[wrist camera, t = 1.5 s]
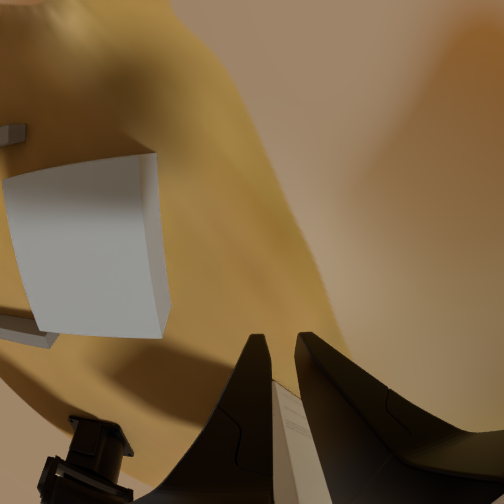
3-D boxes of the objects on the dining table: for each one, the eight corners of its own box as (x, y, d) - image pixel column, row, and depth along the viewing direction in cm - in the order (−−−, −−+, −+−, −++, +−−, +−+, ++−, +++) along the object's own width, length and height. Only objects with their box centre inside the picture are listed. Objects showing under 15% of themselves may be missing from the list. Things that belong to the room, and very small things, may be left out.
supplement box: (209, 414, 24) (210, 539, 12) (274, 377, 22) (304, 519, 11) (260, 442, 26) (274, 546, 14) (320, 411, 25) (355, 522, 13)
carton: (172, 303, 19) (162, 338, 16) (63, 301, 19) (39, 330, 15) (157, 152, 16) (138, 155, 12) (37, 170, 15) (2, 179, 11)
